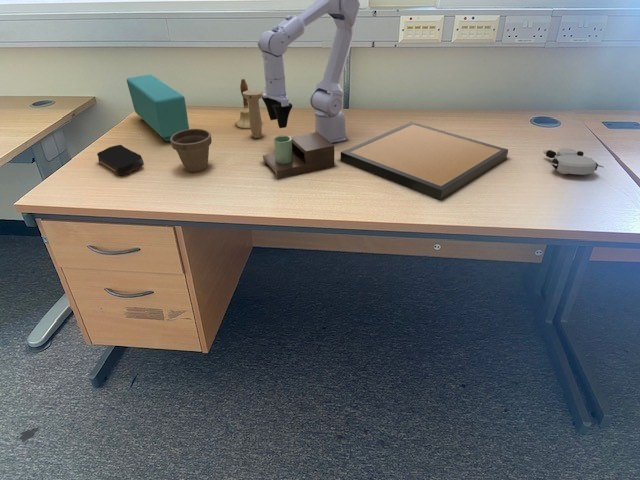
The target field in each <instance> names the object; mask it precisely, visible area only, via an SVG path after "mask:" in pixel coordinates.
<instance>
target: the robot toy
mask: <svg viewBox="0 0 640 480" xmlns="http://www.w3.org/2000/svg"><path fill="white" fill-rule="evenodd" d="M542 154H544V155H545V157H546V158H549V159H552V161H551V162H550V166H552V167H553V168H554V170H556V171H557V172H558V173H559V174H561V175H568V174H569V175H579V176H585V175H590V174H593V173H595V171H597V170H598V168H599V167H601V168H604V165H600V164H598V162H596V161H595V160H594V159H593V158H592V157H589V156H584V152H583V151H581V150H577V151H576V150H575V149H573V148H565V147H564V148H558V150H557V152H556V151H553V150H551V149H549V150H548V149H547V150H543V151H542Z"/></svg>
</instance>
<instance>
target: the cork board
mask: <svg viewBox="0 0 640 480" xmlns="http://www.w3.org/2000/svg"><path fill="white" fill-rule="evenodd" d="M508 154H509V149H507V148H504V147H501V146H497V145H494V144H490V143H488V142H483V141H480V140H477V139H473V138H471V137H470V138H469V137H466V136H463V135H459V134H456V133H452V132H449V131H445V130H442V129H439V128H434V127H432V126H428V125H423V124H420V123H418V122H414V121H409V122H407V123H405V124H403V125H401V126H400V125H399V126H398V127H396V128H393V129H391V130H389V131H387V132H384V133H382V134H380V135H377V136H375V137H372V138H370V139H368V140H365V141H362V142H361V143H359V144H356V145H354V146H352V147H349V148H346V149H344V150H343V151H340V162H342V163H345V164H347V165H350V166H353V167H355V168H358V169H360V170H363V171H364V172H365V171H366V172H368V173H369V174H373V175H376V176H377V177H378V176H379V177H381V178H383V179H385V180H388V181H390V182H393V183H396V184H398V185H400V186H403V187H406V188H407V189H411V190H414V191H416V192H419V193H421V194H424V195H425V196H428V197H431V198H434V199H435V200H439V201H442V200H443V199H445V198H446V197H448V196H450V195H451V194H453V193H454V192H456V191H457V190H459V189H461V188H463V187H464V186H466V185H467V184H468V183H470V182H472V181H474V179H476V178H478V177H480V176H482V175H483V174H484V173H486V172H487V171H489V170H490V169H492V168H494V167H496V166H497V165H498V164H500V163H502V162H504V161H505V160H507V158H508Z"/></svg>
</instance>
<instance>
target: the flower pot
mask: <svg viewBox="0 0 640 480" xmlns="http://www.w3.org/2000/svg"><path fill="white" fill-rule="evenodd" d="M169 142H170V145H171V148H172V149H173V150H174V151H176V152H177V155H178V157H179V159H180V162H181V163H182V166H183V168H184V169H185V170H186V171H187V172H190V173H196V172H197V173H198V172H202V171H204V170H206V169H207V168H208V166H209V165H208V164H209V155H210V154H209V153H210V146H211V144H212V134H211V132H210V131H208V130H207V129H203V128H189V129H187V130H183V131H179V132H177V133H175V134H173V135H172V136H171V138H170V141H169Z"/></svg>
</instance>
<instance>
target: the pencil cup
mask: <svg viewBox="0 0 640 480" xmlns="http://www.w3.org/2000/svg"><path fill="white" fill-rule="evenodd" d="M291 137H292V136H289V135H278V136H275V137H274V138H273V150H274V151H273V153H275V161H276V162H277V163H280V164H286V163H290V162H292V160H293V155H292V138H291Z"/></svg>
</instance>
